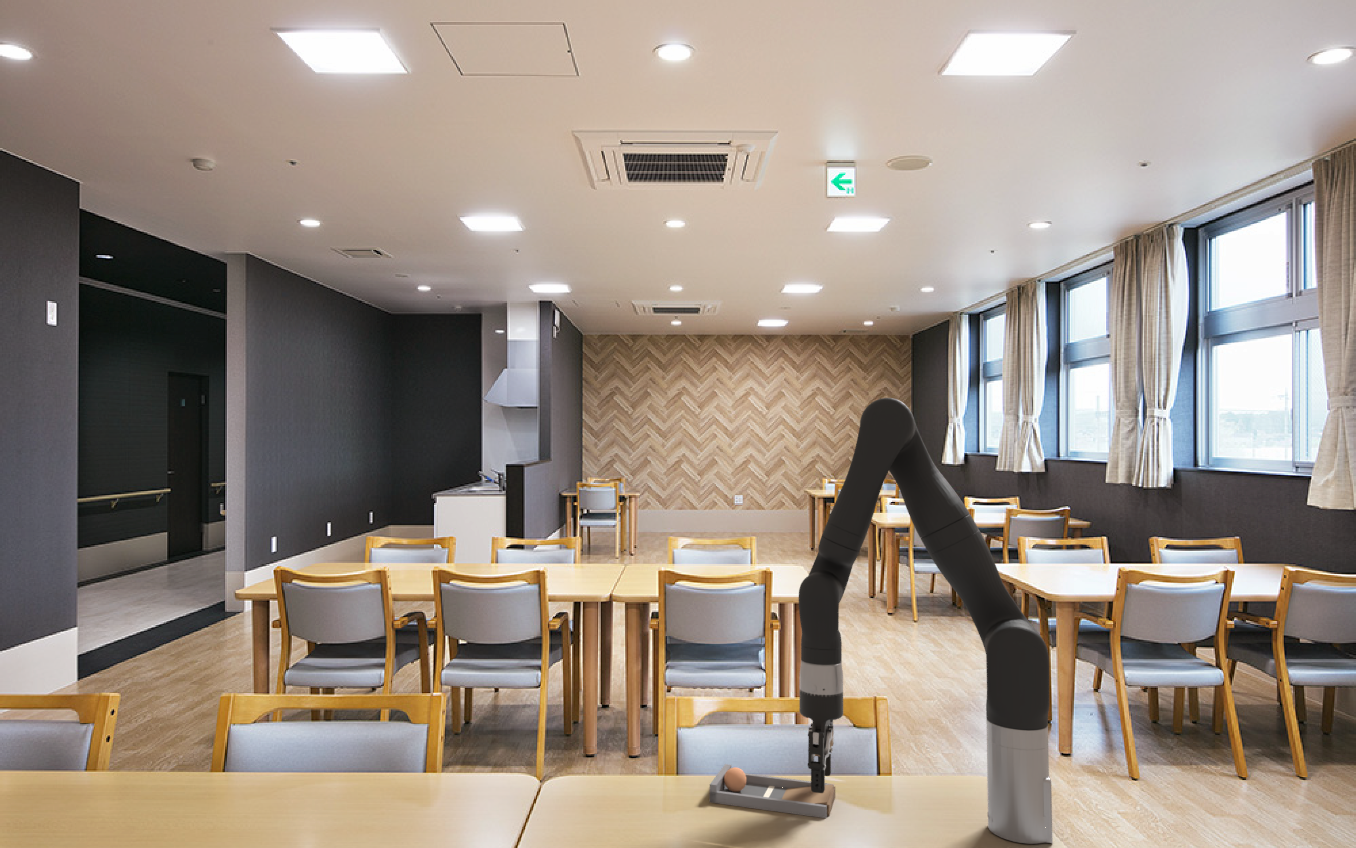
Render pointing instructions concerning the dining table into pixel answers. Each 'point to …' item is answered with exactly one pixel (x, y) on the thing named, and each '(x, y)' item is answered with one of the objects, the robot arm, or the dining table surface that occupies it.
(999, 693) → the robot arm
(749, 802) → the lane
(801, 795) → the ramp
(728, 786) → the ball
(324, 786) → the dining table surface
